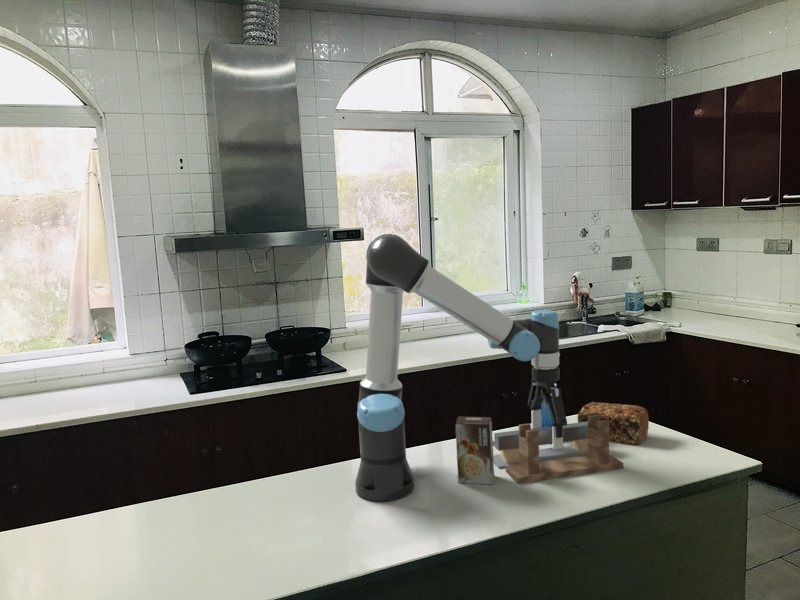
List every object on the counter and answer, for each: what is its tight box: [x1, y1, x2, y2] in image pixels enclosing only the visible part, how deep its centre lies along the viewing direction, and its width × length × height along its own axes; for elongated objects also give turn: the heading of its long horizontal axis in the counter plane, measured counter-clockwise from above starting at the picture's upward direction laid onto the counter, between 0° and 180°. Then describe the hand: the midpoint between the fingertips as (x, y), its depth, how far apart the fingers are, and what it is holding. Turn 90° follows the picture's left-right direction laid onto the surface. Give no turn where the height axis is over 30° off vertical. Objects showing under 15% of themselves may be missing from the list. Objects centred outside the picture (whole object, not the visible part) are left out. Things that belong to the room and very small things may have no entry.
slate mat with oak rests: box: [493, 439, 588, 469], centre depth 181 cm, size 32×8×4 cm, turn 102°
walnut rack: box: [505, 415, 624, 484], centre depth 170 cm, size 30×8×13 cm, turn 102°
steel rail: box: [493, 421, 588, 452], centre depth 180 cm, size 30×3×4 cm, turn 102°
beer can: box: [538, 383, 558, 427], centre depth 196 cm, size 8×8×16 cm
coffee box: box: [455, 416, 496, 485], centre depth 167 cm, size 9×6×16 cm
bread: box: [577, 401, 650, 446], centre depth 193 cm, size 19×11×10 cm, turn 53°
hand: (546, 439), depth 180 cm, fingers open, 13 cm apart
